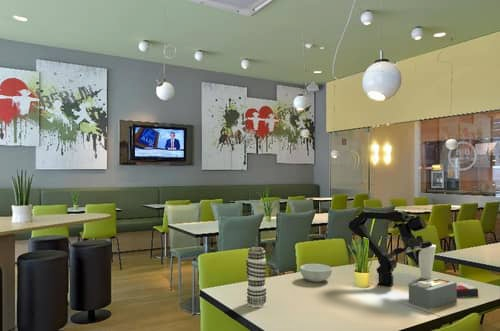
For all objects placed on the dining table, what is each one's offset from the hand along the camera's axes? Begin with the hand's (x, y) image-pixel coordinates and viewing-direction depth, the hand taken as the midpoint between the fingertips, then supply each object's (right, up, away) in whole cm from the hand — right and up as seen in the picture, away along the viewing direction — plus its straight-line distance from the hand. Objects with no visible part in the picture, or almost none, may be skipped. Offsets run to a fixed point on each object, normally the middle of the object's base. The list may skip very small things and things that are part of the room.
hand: (417, 265), depth 191 cm
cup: (+15, -13, +25) cm, 32 cm away
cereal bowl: (-46, -14, +21) cm, 53 cm away
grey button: (-5, -6, -18) cm, 20 cm away
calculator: (+17, -13, -3) cm, 22 cm away
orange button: (+6, -8, -11) cm, 15 cm away
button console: (0, -12, -15) cm, 19 cm away
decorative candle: (-79, -13, -18) cm, 82 cm away
